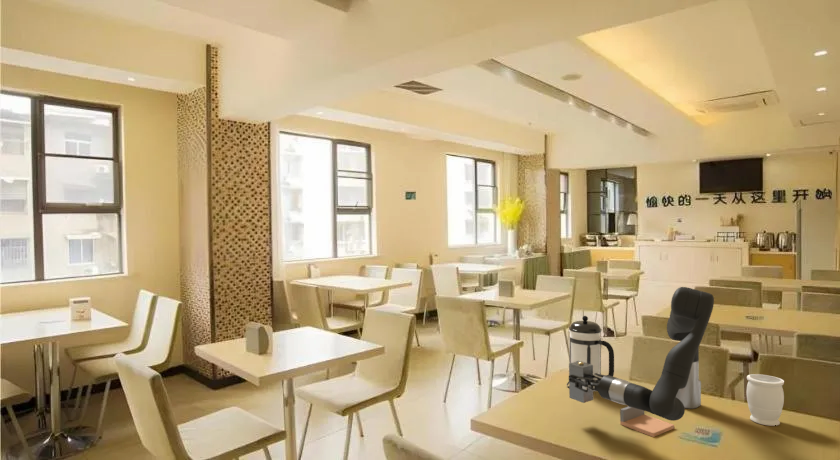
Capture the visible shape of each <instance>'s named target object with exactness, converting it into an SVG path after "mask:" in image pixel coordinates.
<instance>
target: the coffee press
mask: <svg viewBox="0 0 840 460" xmlns="http://www.w3.org/2000/svg"><path fill="white" fill-rule="evenodd" d="M568 333H569V363H573V362H577V361H581V362H584V363H588V364H591V365H593V375H594V374H595V373H597V374H601V375H602V346H604V347H605V348H606V349H607V351H608V373H607V375H609V376H613V377H614V375H615V352H614V348H613V346H612V345H611V343H609V342H608V341H605V340H602V337H601V336H602V334H601V333H602V328H601V326H600V324H598V323H597V322H594V321H589V317H588V316H587V315H583V316H582V320H575V321H572V323H571V324H570V326H569V328H568ZM568 385H569V381H568V382H566V387H567V388H569V386H568Z"/></svg>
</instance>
